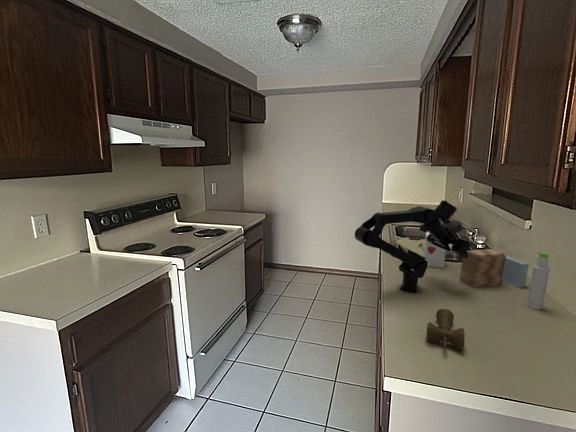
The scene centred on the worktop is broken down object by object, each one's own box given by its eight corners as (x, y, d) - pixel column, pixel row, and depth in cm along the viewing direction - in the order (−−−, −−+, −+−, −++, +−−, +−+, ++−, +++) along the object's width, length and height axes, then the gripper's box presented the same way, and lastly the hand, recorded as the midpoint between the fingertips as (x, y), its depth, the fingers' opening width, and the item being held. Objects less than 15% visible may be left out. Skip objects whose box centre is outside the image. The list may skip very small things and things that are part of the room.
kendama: (460, 327, 101) (464, 362, 83) (427, 320, 105) (424, 353, 87) (462, 309, 100) (466, 341, 82) (429, 303, 104) (426, 332, 86)
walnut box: (472, 287, 129) (476, 255, 126) (459, 280, 136) (463, 250, 133) (501, 285, 132) (506, 254, 129) (487, 278, 139) (492, 248, 136)
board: (518, 287, 130) (522, 264, 128) (490, 274, 143) (493, 253, 141) (524, 287, 130) (528, 264, 128) (496, 274, 144) (499, 253, 142)
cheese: (435, 261, 165) (422, 238, 174) (437, 254, 159) (423, 230, 169) (406, 269, 166) (395, 245, 176) (407, 263, 161) (395, 239, 170)
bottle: (526, 302, 117) (536, 250, 113) (541, 306, 114) (551, 253, 110) (526, 307, 113) (536, 253, 109) (542, 311, 111) (553, 256, 107)
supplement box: (423, 265, 153) (426, 235, 150) (422, 260, 161) (425, 231, 158) (444, 268, 150) (447, 237, 147) (442, 262, 158) (445, 233, 155)
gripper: (469, 220, 116) (490, 245, 121) (434, 210, 134) (454, 233, 139) (449, 242, 116) (471, 267, 121) (417, 230, 134) (437, 252, 139)
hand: (458, 253), depth 130 cm, fingers open, 9 cm apart
